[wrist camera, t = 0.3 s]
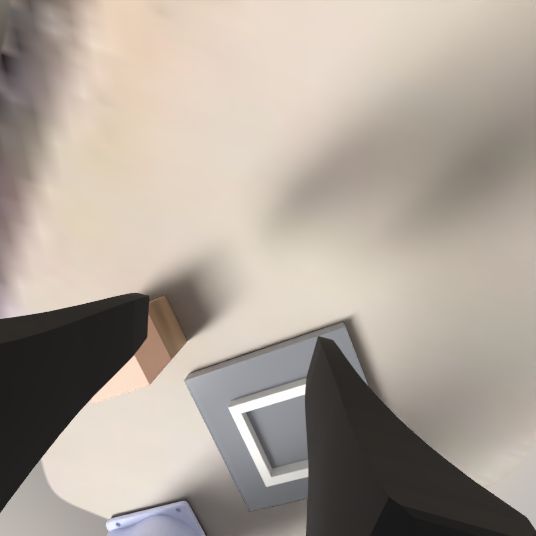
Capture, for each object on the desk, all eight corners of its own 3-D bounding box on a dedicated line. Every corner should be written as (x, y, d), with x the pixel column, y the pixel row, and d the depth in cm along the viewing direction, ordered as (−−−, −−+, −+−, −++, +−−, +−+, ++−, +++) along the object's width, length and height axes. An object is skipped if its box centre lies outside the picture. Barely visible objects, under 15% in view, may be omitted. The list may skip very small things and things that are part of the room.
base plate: (251, 500, 25) (248, 521, 23) (188, 373, 23) (180, 386, 21) (398, 465, 23) (407, 486, 21) (343, 321, 21) (347, 331, 19)
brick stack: (144, 356, 23) (93, 403, 17) (121, 312, 23) (60, 345, 17) (187, 340, 22) (149, 384, 17) (165, 294, 22) (117, 323, 16)
